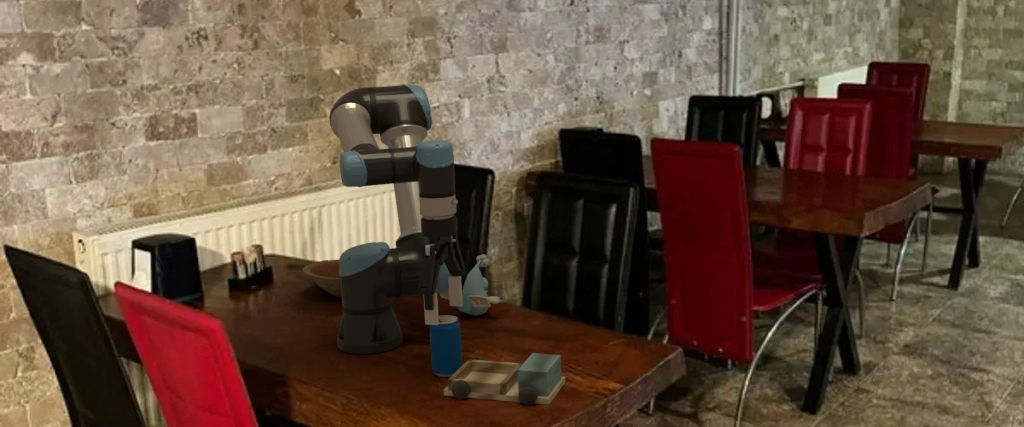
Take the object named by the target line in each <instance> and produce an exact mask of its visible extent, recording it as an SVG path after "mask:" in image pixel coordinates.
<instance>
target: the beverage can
mask: <svg viewBox="0 0 1024 427" xmlns="http://www.w3.org/2000/svg"><path fill="white" fill-rule="evenodd" d="M438 317H439V324H438V325H429V341H430V342H429V343H430V357H431V370H432V372H433V374H435V375H436V377H437V376H438V377H441V378H450V377H451V376H452V375H453V374H454V373H455V372H456V371H457V370H458V369H459V368H460V367H461V366H462V365H463V354H462V352H463V351H462V332H461V323H460V321H459V318H458V317H457V316H455V315H451V314H443V315H438Z"/></svg>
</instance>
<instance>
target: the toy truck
mask: <svg viewBox="0 0 1024 427" xmlns="http://www.w3.org/2000/svg"><path fill="white" fill-rule="evenodd" d="M565 383H566V376H562V356H561V354H549V353H537V352H536V353H534V352H532V353H531V354H530V355H529V357H527V358H526V360H525V361H524V362H523V363H520V362H509V361H493V360H490V359H488V358H486V357H480V358H478V359H467V360H466V362H465V363H462V366H461V367H460V368H459V369H458V370H457V371H456V372H455V373H454V374H453V375H452V376H451V377H448V379H447V386H446V387H445V388H444V389H443V396H444V397H445V396H447V397H455V398H456V400H457V399H458V400H465V399H466V398H467V399H469V398H470V399H478V400H479V399H480V400H493V401H504V402H516V403H522V404H523V405H525V406H532V405H534V404H538V405H549V406H550V404H551V403H552V401H553V400H554V399H555V397H556V396H557V395H558V394H559V392H560V390H561V389H562V387H563V386H564V385H565Z"/></svg>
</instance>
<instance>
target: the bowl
mask: <svg viewBox="0 0 1024 427" xmlns="http://www.w3.org/2000/svg"><path fill="white" fill-rule="evenodd" d="M302 272H303V273H304V275H306V276H308V277H310V278H312V280H313V282H315V284H316V285H317V287H319V288H320V289H322V290H324V291H326V292H327V293H329V294H330V295H333V296H335V297H341V298H342V294H341V280H340V276H339V259H329V260H328V259H324V260H320V261H317V262H316V261H315V262H312V263H310V264H308V265H305V266H304V267H303V268H302Z"/></svg>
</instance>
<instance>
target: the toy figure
mask: <svg viewBox="0 0 1024 427" xmlns="http://www.w3.org/2000/svg"><path fill="white" fill-rule="evenodd" d="M475 260H476V264H475V265H474V267H473V268H472V269H471V270H470V271H469V272H468V273H467V275H466V278H465V281H464V283H463V287H462V302H463V306H457V309H458V310H459V312H461V313H466V314H467V315H469V316H475V317H476V316H478V317H479V316H481V315H483V314H485V313H486V312H487V311H488V310H489V308H491V304H492V305H498V304H499V303H501V302H502V300H501V299H500V297H499V296H492V295H491V296H489V295H488V293H487V292H488V288H489V281H488V279H487V278H486V277H483V275H482V272H481V270H480V268H487V267H489V266H490V259H488V256H487V255H486V254H483V253H482V254H480V255H477V256H476V259H475ZM439 296H440V298H442V299H445V300H449V290H448V291H447V292H442V293H439ZM449 301H450V300H449Z"/></svg>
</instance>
